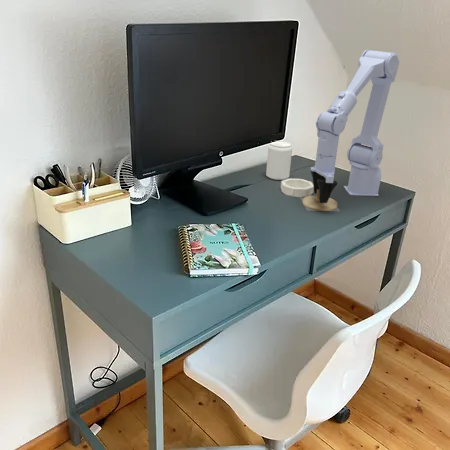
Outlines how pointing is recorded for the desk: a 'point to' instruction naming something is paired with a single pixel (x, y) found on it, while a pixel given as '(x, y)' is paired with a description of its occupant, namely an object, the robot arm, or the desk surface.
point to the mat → (315, 210)
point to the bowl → (297, 187)
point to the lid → (315, 204)
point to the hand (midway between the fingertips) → (320, 197)
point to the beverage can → (279, 160)
